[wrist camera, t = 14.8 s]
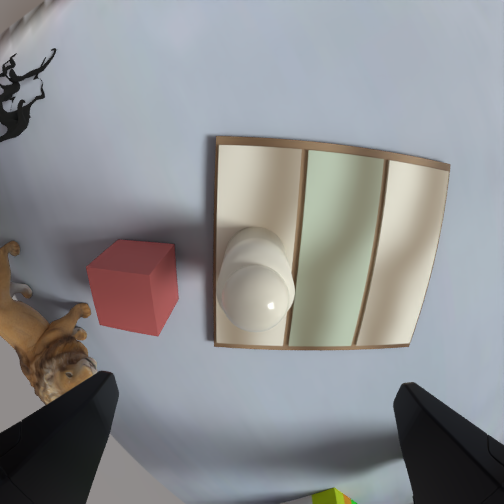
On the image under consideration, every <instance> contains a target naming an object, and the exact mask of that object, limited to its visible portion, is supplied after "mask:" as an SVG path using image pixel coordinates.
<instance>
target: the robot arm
mask: <svg viewBox="0 0 504 504" xmlns="http://www.w3.org/2000/svg"><path fill="white" fill-rule="evenodd" d="M118 397H119V391H118V387H117V384H116V380H115V377H114V375H113V373H111V372H107V371H99V372H97V373H96V374H94V375H93V376H91V377H89V378H88V379H86V380H85V381H83V382H82V383H80V384H78V385H77V386H75V387H74V388H72V389H71V390H69V391H67V392H66V393H64V394H63V395H61V396H60V397H58V398H56V399H55V400H53V401H52V402H50V403H48V404H47V405H45V406H44V407H42V408H41V409H39V410H37V411H36V412H34V413H33V414H31V415H29V416H28V417H26V418H25V419H23V420H22V422H21V421H20V422H18V423H16V424H15V425H13V426H11V427H10V428H8V429H6V430H5V431H3V432H1V433H0V504H86V501H87V498H88V495H89V492H90V489H91V486H92V483H93V480H94V477H95V474H96V471H97V468H98V465H99V463H100V460H101V457H102V454H103V451H104V448H105V446H106V443H107V440H108V437H109V434H110V430H111V426H112V422H113V417H114V413H115V409H116V405H117V401H118ZM393 408H394V413H395V419H396V424H397V430H398V436H399V441H400V446H401V450H402V453H403V457H404V461H405V464H406V468H407V472H408V475H409V479H410V483H411V487H412V491H413V501H414V504H504V445H503V444H501V443H500V442H498V441H497V440H495V439H494V438H492V437H491V436H490V435H487V433H485V432H484V431H482V430H481V429H480V428H478V427H477V426H475V425H474V424H472V423H471V422H470V421H468V420H467V419H465V418H464V417H462V416H461V415H460V414H458V413H457V412H455V411H454V410H453V409H451V408H450V407H448V406H447V405H446V404H444V403H443V402H441V401H440V400H438V399H437V398H436V397H434V396H433V395H431V394H430V393H429V392H427V391H426V390H424V389H423V388H422V387H420V386H419V385H417V384H416V383H414V382H409V383H403V384H402V385H401V386H400V388H399V391H398V393H397V395H396V397H395V399H394V403H393Z"/></svg>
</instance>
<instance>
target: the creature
mask: <svg viewBox="0 0 504 504" xmlns="http://www.w3.org/2000/svg"><path fill="white" fill-rule="evenodd" d="M52 50H54V53H53V55H52V57H51V58H50V59H49V60H48V61H47V62H46V63H45V64H44V65H43V63H44V61H45V59H46V57H45V59H44V61H43V63H42V65H43V66H42V65H41V67H40V68H38V69H35V70H32V71H30V72H28V73H27V74H25V75H24V76H17V75H16V74H15V72H14V70H13V69H11V68H14V67H15V65H16V64H15V62H14V60H13V59H12V57H14V56H15V55H16V54H17V53H16V54H14V55H13V56H11V57H10V60H9V61H10V63H11V65H9V66H7V67H5V64H6V63H8V62H9V61H7V62H6V63H5V64H3V67H2V69H3V70H2V71H3V73H1V74H0V77H4V76H6V77H7V78H8V76H7V70H8V69H11V70H10V72H9V76H10V78H8V79H9V81H11V82H12V84H11V85H6V86H3V85H1V84H0V86H1V88H2V89H4V93H3V94H2V95H0V122H1V124H3V125H5V126H6V127H7V128H8V130H7V132H6V134H4V135H3V136H1V137H0V142H2V141H4V140H7V139H10V138H15V137H17V136H19V135H20V134H21V133H22V132H23V131H24V130H25V129H26V128H27V126H28V123H29V118H30V115H29V114H30V107H31V105H32V104H33V103H34V102H35V101H36V100H38V99H43V98H45V94H44V91H43V88H42V87H43V83H42V87H41V91H42V95H41V96H36V97H35V99H34V100H33V101H32V102H30V103H29V104H28V105H26V106H24V107H22V105H23V103H25V101H24V100H20V101H19V103H18V107H17V110H16V111H14V112H11V111H10V112H6V111H5V110H4V109H3V105H2V102H3V101H7V100H12V103H13V100H14V98H15V97H12V96H13V94H14V93H16V92H18V91H19V89H20V84H19V81H22V80H24V79H25V78H29V77H31V76H34V75H36V76H35V78H34V79H37V78H38V73H40V72H42V71H44V69H45V68H46V67H47V65H48V64H49V63H50V61H51V60H52V59H53V57H54V55H55V53H56V49H55V48H54V49H52ZM52 50H51V51H52ZM34 79H33V80H34ZM38 79H39V78H38ZM41 81H42V80H41ZM11 106H12V105H11Z"/></svg>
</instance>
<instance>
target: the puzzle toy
mask: <svg viewBox="0 0 504 504" xmlns="http://www.w3.org/2000/svg"><path fill="white" fill-rule="evenodd" d="M280 504H357V503H356V502H354V501H353V500H351V499H350V498H348V497H347V496H346V495H344V494H343V493H341V492H340V491H338V490H337V489H336V488H331V489H328V490H325V491H322V492H319V493H316V494H313V495H309V496H306V497H303V498H299V499H295V500H292V501H288V502H284V503H280Z"/></svg>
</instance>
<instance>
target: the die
mask: <svg viewBox="0 0 504 504" xmlns="http://www.w3.org/2000/svg"><path fill="white" fill-rule="evenodd" d="M86 270H87V274H88V279H89V284H90V288H91V292H92V297H93V301H94V305H95V309H96V312H97V316H98V320H99V324H100V325H103V326H107V327H112V328H117V329H121V330H126V331H131V332H137V333H142V334H147V335H153V336H159V334H160V332H161V330H162V329H163V327H164V325H165V323H166V321H167V319H168V318H169V316H170V314H171V312H172V310H173V308H174V307H175V305H176V303H177V301H178V299H179V297H178V286H177V273H176V259H175V244H168V243H156V242H144V241H132V240H120V239H118V240H117V241H116V242H115V243H113V244H112V245H111V246H110V247H109V248H107V249H106V250H105V251H104V252H103V253H101V254H100V255H99V256H98V257H97V258H96V259H94V260H93V261H92V262H91V263H90V264H89V265H88V266H86Z"/></svg>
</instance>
